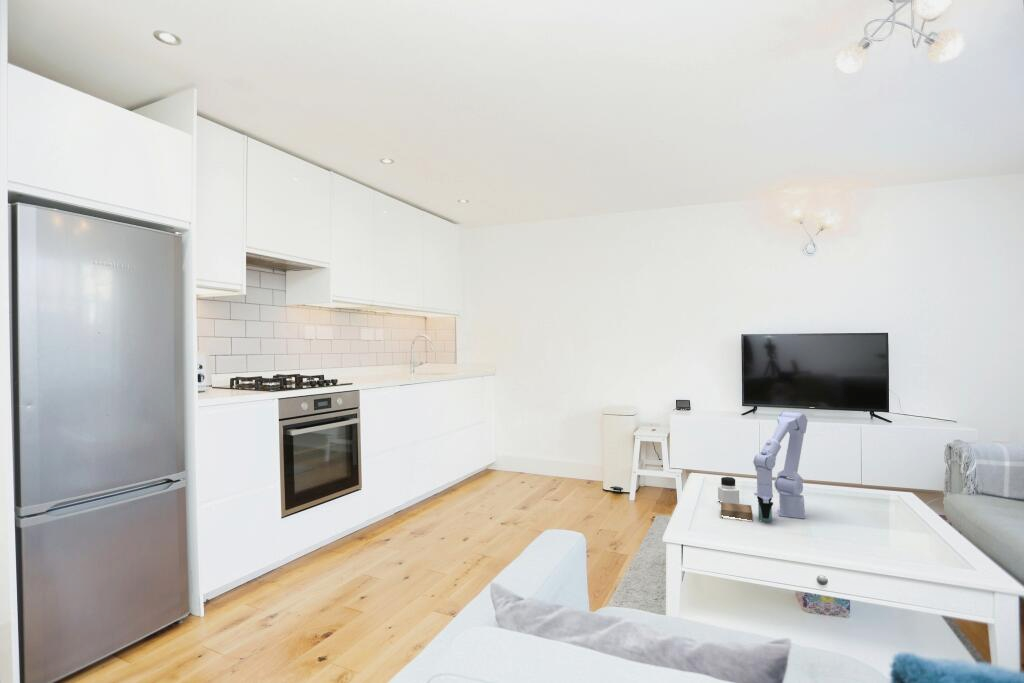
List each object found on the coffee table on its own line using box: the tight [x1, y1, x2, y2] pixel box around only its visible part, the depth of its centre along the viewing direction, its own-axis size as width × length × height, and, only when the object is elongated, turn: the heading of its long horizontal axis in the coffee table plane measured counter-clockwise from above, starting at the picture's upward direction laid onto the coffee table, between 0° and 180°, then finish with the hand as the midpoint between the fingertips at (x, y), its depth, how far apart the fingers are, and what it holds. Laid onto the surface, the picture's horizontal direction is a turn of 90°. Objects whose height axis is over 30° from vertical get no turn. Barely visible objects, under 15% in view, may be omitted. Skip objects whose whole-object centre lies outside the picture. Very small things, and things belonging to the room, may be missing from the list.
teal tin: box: [757, 502, 773, 523], centre depth 214 cm, size 5×5×6 cm
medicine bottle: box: [717, 476, 740, 504], centre depth 239 cm, size 7×7×12 cm
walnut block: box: [720, 502, 753, 521], centre depth 220 cm, size 12×12×4 cm
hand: (765, 516), depth 214 cm, fingers closed on teal tin, 5 cm apart
